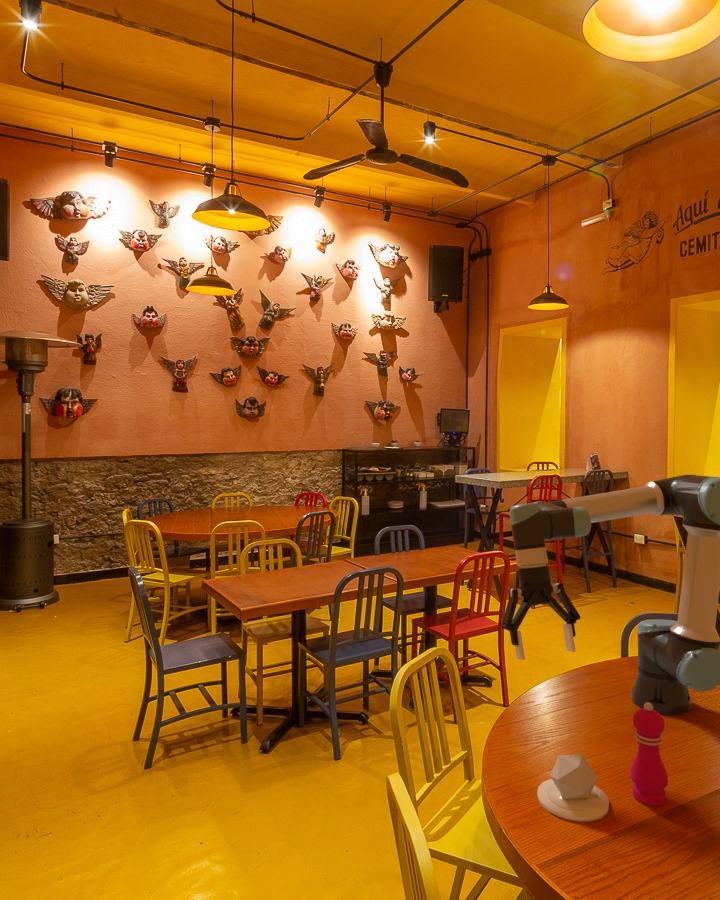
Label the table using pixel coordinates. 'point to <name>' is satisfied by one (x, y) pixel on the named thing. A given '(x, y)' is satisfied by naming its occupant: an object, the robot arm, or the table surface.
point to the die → (573, 777)
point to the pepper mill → (649, 758)
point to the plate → (573, 803)
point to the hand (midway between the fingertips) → (546, 655)
